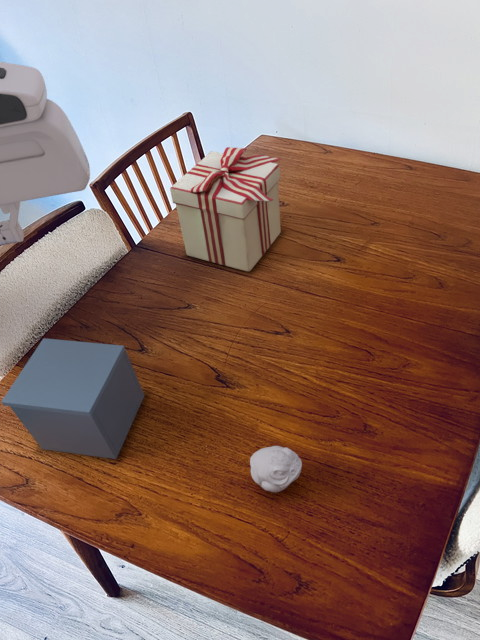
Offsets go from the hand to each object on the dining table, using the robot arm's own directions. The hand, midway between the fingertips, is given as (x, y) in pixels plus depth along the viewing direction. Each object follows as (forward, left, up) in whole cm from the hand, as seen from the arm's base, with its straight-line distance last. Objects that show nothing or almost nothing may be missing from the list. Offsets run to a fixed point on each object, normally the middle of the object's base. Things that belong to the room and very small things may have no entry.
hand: (9, 241), depth 53 cm
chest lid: (-2, 0, -22) cm, 22 cm away
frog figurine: (+27, -6, -32) cm, 43 cm away
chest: (-2, 0, -32) cm, 32 cm away
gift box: (+10, +46, -32) cm, 57 cm away
